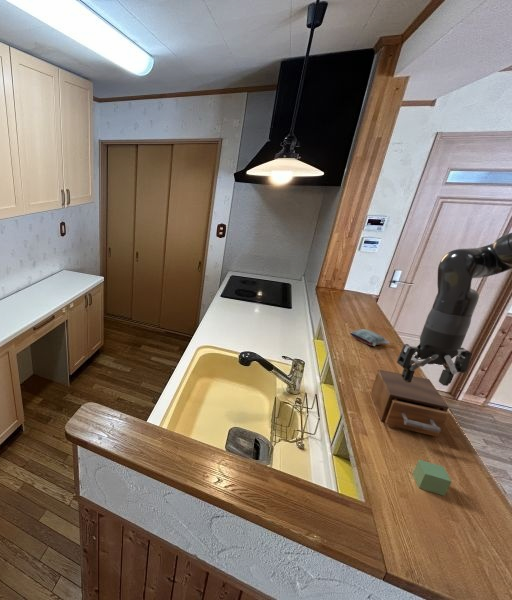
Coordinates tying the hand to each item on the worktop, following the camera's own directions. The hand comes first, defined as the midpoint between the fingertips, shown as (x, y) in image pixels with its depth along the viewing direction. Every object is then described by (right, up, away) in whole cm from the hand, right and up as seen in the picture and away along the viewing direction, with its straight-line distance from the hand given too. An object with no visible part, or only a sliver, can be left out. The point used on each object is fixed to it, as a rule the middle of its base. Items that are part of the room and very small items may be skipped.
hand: (424, 382), depth 86 cm
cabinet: (+5, -13, +13) cm, 19 cm away
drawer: (+3, -13, +9) cm, 16 cm away
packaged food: (+29, +3, +56) cm, 63 cm away
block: (-9, -22, -10) cm, 25 cm away
